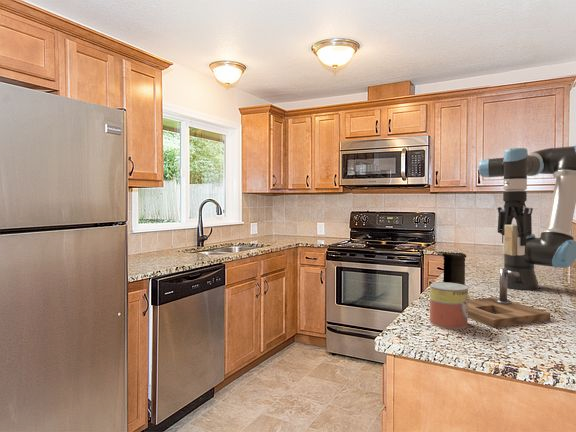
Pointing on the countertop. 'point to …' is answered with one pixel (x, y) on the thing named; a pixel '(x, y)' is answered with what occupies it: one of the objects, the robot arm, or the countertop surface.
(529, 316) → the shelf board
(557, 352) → the countertop surface
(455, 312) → the canned food
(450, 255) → the container
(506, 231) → the box
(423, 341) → the countertop surface
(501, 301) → the door lever handle
